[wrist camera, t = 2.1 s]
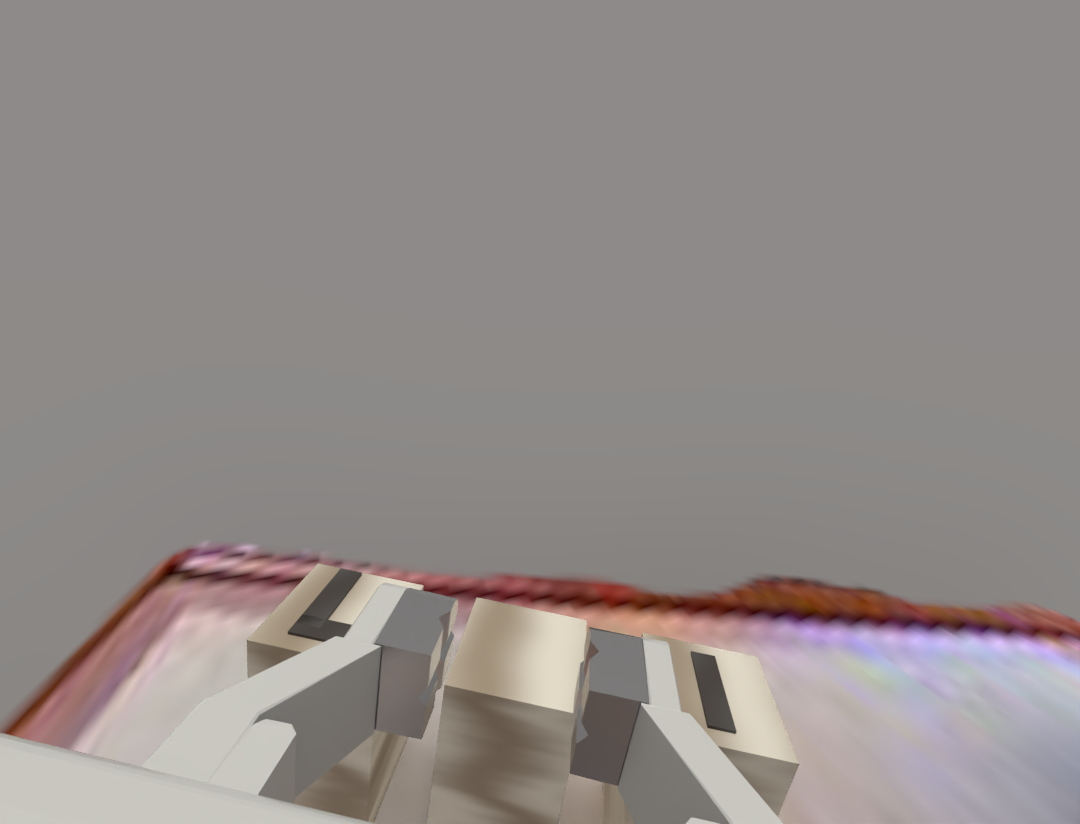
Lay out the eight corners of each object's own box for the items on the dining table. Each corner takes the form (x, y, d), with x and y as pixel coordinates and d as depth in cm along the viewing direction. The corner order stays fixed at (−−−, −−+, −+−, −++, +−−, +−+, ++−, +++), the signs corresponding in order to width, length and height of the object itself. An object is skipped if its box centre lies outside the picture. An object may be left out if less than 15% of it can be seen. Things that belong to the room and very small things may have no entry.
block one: (703, 805, 30) (756, 652, 27) (728, 936, 24) (800, 761, 21) (602, 782, 31) (642, 628, 27) (602, 905, 25) (654, 728, 22)
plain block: (552, 772, 31) (586, 620, 28) (542, 889, 25) (582, 715, 22) (454, 749, 31) (476, 597, 28) (422, 860, 25) (444, 684, 22)
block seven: (408, 736, 32) (424, 581, 28) (364, 845, 26) (378, 666, 22) (314, 714, 32) (319, 559, 29) (249, 817, 26) (247, 637, 23)
